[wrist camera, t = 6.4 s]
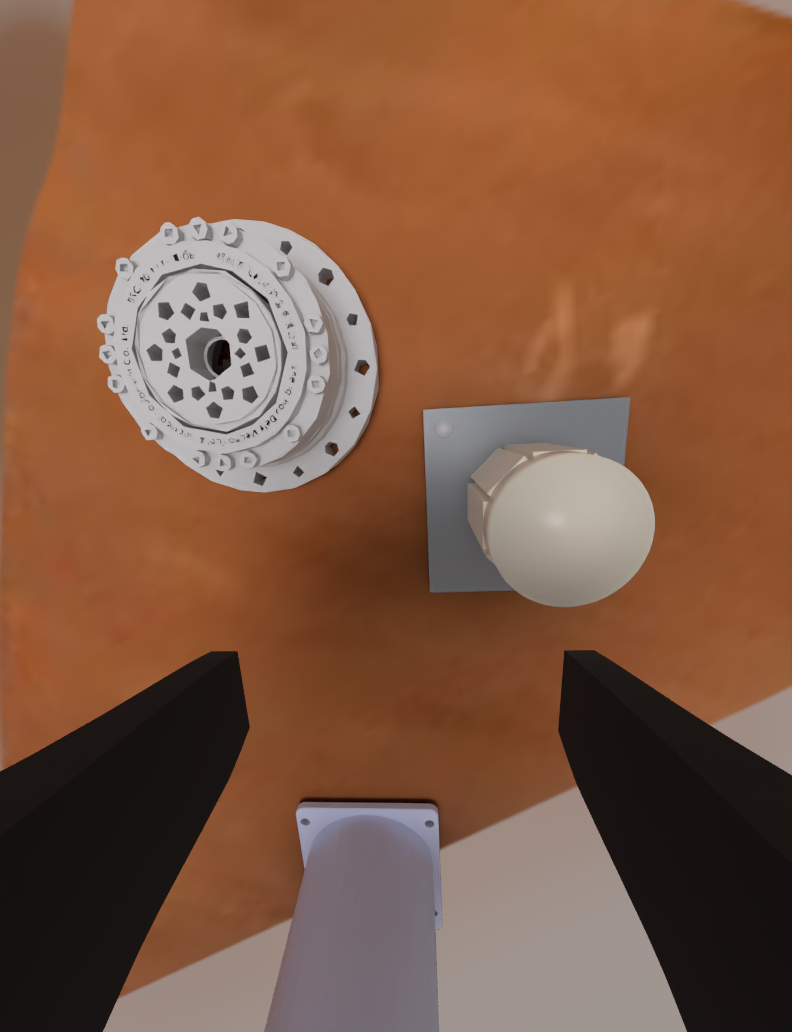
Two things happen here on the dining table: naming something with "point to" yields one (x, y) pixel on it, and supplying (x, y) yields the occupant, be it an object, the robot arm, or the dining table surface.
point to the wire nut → (560, 522)
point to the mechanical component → (241, 352)
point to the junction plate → (466, 446)
